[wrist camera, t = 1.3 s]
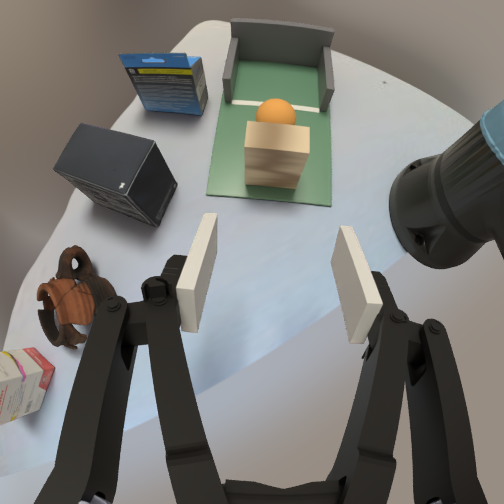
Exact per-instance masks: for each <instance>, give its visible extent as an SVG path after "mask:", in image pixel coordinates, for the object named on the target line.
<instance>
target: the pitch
mask: <svg viewBox="0 0 504 504" xmlns="http://www.w3.org/2000/svg"><path fill="white" fill-rule="evenodd" d="M333 35H334V29H333V28H328V27H322V26H316V25H310V24H303V23H295V22H286V21H276V20H264V19H246V18H245V19H244V18H232V19H231V41H230V45H229V50H228V54H227V59H226V64H225V68H224V73H223V78H222V80H223V89H224V90H223V95H222V100H221V106H220V111H219V117H218V122H217V128H216V134H215V140H214V146H213V152H212V159H211V165H210V171H209V178H208V185H207V192H206V195H211V196H225V197H238V198H251V199H262V200H273V201H284V202H294V203H303V204H313V205H322V206H330V207H331V206H332V164H331V129H330V108H329V103H330V101H331V98H332V95H333V93H334V90H335V89H334V78H333V68H332V59H331V50H330V46H331V42H332V38H333ZM275 98H276V99H282V100H285V101H287V102H288V103H289V104H290V105H291V106H292V107H293V108H294V110H295V113H296V124H295V125H297V126H305V127H310V152H309V156H308V159H307V161H306V164H305V166H304V169H303V171H302V174H301V177H300V179H299V182H298V184H297V187H296V189H290V188H280V187H269V186H258V185H246V184H245V157H244V145H245V136H246V128H247V121H256V112H257V109H258V108H259V106H260V105H261V104H262V103H263V102H265V101H267V100H269V99H275Z"/></svg>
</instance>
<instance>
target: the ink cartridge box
mask: <svg viewBox="0 0 504 504" xmlns="http://www.w3.org/2000/svg"><path fill="white" fill-rule="evenodd" d="M54 368H55V367H53V366H52V365H51V364H50V363H49V362H48V361H47V360H46V359H45V358H44V357H43V356H42V355H41V354H40V353H39V352H38V351H37V350H36V349H35V348H26V349H18V350H11V351H3V352H0V425H2V424H5V423H7V422H10V421H12V420H15V419H17V418H20V417H22V416H25V415H27V414H29V413H32V412H34V411H37V410H39V409H40V407H41V404H42V401H43V398H44V395H45V393H46V390H47V387H48V384H49V382H50V379H51V376H52V374H53V371H54Z"/></svg>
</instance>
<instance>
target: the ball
mask: <svg viewBox="0 0 504 504" xmlns="http://www.w3.org/2000/svg"><path fill="white" fill-rule="evenodd" d="M256 122H268V123H278V124H288V125H295V124H296V113H295V110H294V108H293V107H292V106H291V105H290V104H289V103H288V102H287V101H285V100H282V99H276V98H275V99H269V100H267V101H265V102H263V103H262V104H261V105H260V106H259V108H258V109H257V112H256Z"/></svg>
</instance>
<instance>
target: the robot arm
mask: <svg viewBox="0 0 504 504" xmlns="http://www.w3.org/2000/svg"><path fill="white" fill-rule="evenodd" d="M389 207H390V215H391V220H392V224H393V227H394V229H395V232H396V234H397V236H398V238H399V240H400V242H401V243H402V245H403V246H404V248H405V249H406V250H407V251H408V252H409V254H410V255H411V256H412V257H414V258H415V259H416V260H417V261H419V262H420V263H422V264H423V265H425V266H428V267H430V268H434V269H447V268H451V267H455V266H458V265H461V264H463V263H464V262H466V261H467V260H468V259H469V258H470V257H472V256H473V255H474V254H475V253H476V252H477V251H478V250H479V249H480V248H481V247H482V246H483V245H484V244H485V243H486V242H489V241H492V240H495V241H496V243H497V246H498V248H499V250H500V252H501V255H502V257H503V259H504V100H502V101H501V102H500V103H499V104H498V105H496V106H495V107H494V108H493V109H490V110H487V111H486V112H485V113H484V114H483V115H482V117H481V119H480V121H478V122H477V123H476V124H475V125H474V126H473V127H472V128H471V129H470V130H469V131H468V132H466V133H465V134H464V135H463V136H462V137H461V138H459V139H458V140H457V141H456V142H455V143H454V144H452V145H451V146H450V147H449V148H448V149H447V150H446V151H445V152H443V153H442V154H438V155H434V156H430V157H426V158H422V159H418V160H416V161H414V162H412V163H410V164H409V165H408V166H407V167H406V168H405V169H404V170H402V171H401V172H400V173H399V175H398V176H397V177H396V179H395V181H394V183H393V185H392V188H391V192H390V200H389ZM217 216H218V214H213V213H204V216H203V218H202V221H201V223H200V226H199V228H198V231H197V233H196V236H195V238H194V241H193V244H192V246H191V249H190V251H189V254H188V256H183V255H173V256H172V257H171V258H170V259H168V260H167V263H166V265H165V268H164V269H163V271H162V274H161V276H154V277H150V278H148V279H147V280H145V281H144V282H143V284H142V287H141V290H142V294H143V299H144V300H143V301H140V302H133V303H127V301H126V300H125V299H124V298H123V297H121V296H110V297H108V298H106V299H105V300H103V301H102V302H101V304H100V306H99V309H98V311H97V314H96V317H95V319H94V322H93V325H92V328H91V331H90V333H89V336H88V339H87V342H86V345H85V348H84V351H83V354H82V357H81V360H80V364H79V367H78V370H77V374H76V377H75V380H74V384H73V387H72V391H71V395H70V398H69V402H68V406H67V410H66V414H65V418H64V422H63V427H62V431H61V436H60V440H59V445H58V450H57V455H56V461H55V467H54V469H53V470H52V472H51V474H50V476H49V477H48V479H47V481H46V483H45V484H44V486H43V488H42V490H41V492H40V493H39V495H38V497H37V499H36V500H35V502H34V504H112V503H113V499H114V496H115V492H116V487H117V481H118V470H119V460H120V452H121V443H122V436H123V428H124V421H125V415H126V408H127V402H128V396H129V390H130V384H131V379H132V373H133V368H134V363H135V358H136V353H137V348H138V345H146V344H148V347H149V355H150V363H151V371H152V378H153V384H154V391H155V397H156V403H157V409H158V415H159V419H160V425H161V430H162V435H163V440H164V445H165V450H166V463H167V468H168V471H169V476H170V479H171V484H172V488H173V491H174V495H175V498H176V502H177V504H386V503H387V500H388V497H389V493H390V490H391V485H392V482H393V478H394V473H395V469H396V459H395V458H393V449H394V445H395V440H396V435H397V430H398V424H399V418H400V411H401V406H402V398H403V391H404V383H405V384H406V392H407V400H408V409H409V417H410V429H411V442H412V460H413V493H414V503H415V504H488V503H487V500H486V498H485V495H484V493H483V490H482V488H481V485H480V483H479V480H478V478H477V471H476V462H475V454H474V446H473V439H472V433H471V427H470V422H469V416H468V411H467V407H466V402H465V398H464V393H463V389H462V384H461V380H460V376H459V373H458V369H457V365H456V362H455V358H454V355H453V351H452V348H451V344H450V341H449V338H448V335H447V332H446V329H445V327H444V325H443V324H442V323H440V322H439V321H437V320H435V319H427V320H426V321H425V322H424V324H423V325H421V324H418V323H415V322H412V321H409V318H408V316H407V314H406V313H404V312H403V311H402V310H399V309H398V308H397V305H396V303H395V300H394V298H393V295H392V293H391V291H390V288H389V286H388V283H387V281H386V279H385V277H384V276H383V275H382V274H381V273H380V272H376V271H370V268H369V266H368V263H367V261H366V258H365V256H364V254H363V251H362V249H361V246H360V244H359V242H358V239H357V237H356V235H355V232H354V230H353V228H352V227H350V226H341V225H340V228H339V232H338V236H337V240H336V244H335V248H334V252H333V256H332V260H331V265H332V269H333V273H334V277H335V282H336V286H337V290H338V294H339V298H340V303H341V307H342V312H343V316H344V321H345V325H346V330H347V335H348V340H349V343H350V344H363V343H364V342H365V340H366V338H367V336H368V340H369V345H368V347H367V348H366V351H365V352H364V354H363V356H362V359H364V362H363V366H362V371H361V375H360V379H359V383H358V387H357V391H356V395H355V399H354V402H353V406H352V410H351V413H350V417H349V420H348V424H347V427H346V430H345V433H344V437H343V440H342V443H341V446H340V449H339V452H338V455H337V458H336V461H335V463H334V466H333V468H332V470H331V472H330V474H329V475H328V477H327V479H326V481H321V482H310V483H306V484H303V485H299V486H295V487H291V488H286V489H281V488H276V487H272V486H268V485H264V484H261V483H257V482H251V481H237V480H226V482H225V484H221V481H220V478H219V475H218V472H217V469H216V466H215V463H214V460H213V457H212V454H211V450H210V448H209V445H208V442H207V439H206V435H205V432H204V428H203V425H202V421H201V418H200V414H199V410H198V406H197V402H196V398H195V395H194V391H193V387H192V382H191V378H190V374H189V370H188V366H187V361H186V357H185V352H184V348H183V343H182V338H181V334H180V329H179V328H180V325H181V330H182V331H185V332H193V333H198V329H199V324H200V320H201V316H202V312H203V307H204V303H205V299H206V295H207V291H208V287H209V283H210V279H211V275H212V271H213V267H214V263H215V259H216V255H217ZM364 357H365V358H364Z"/></svg>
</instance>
